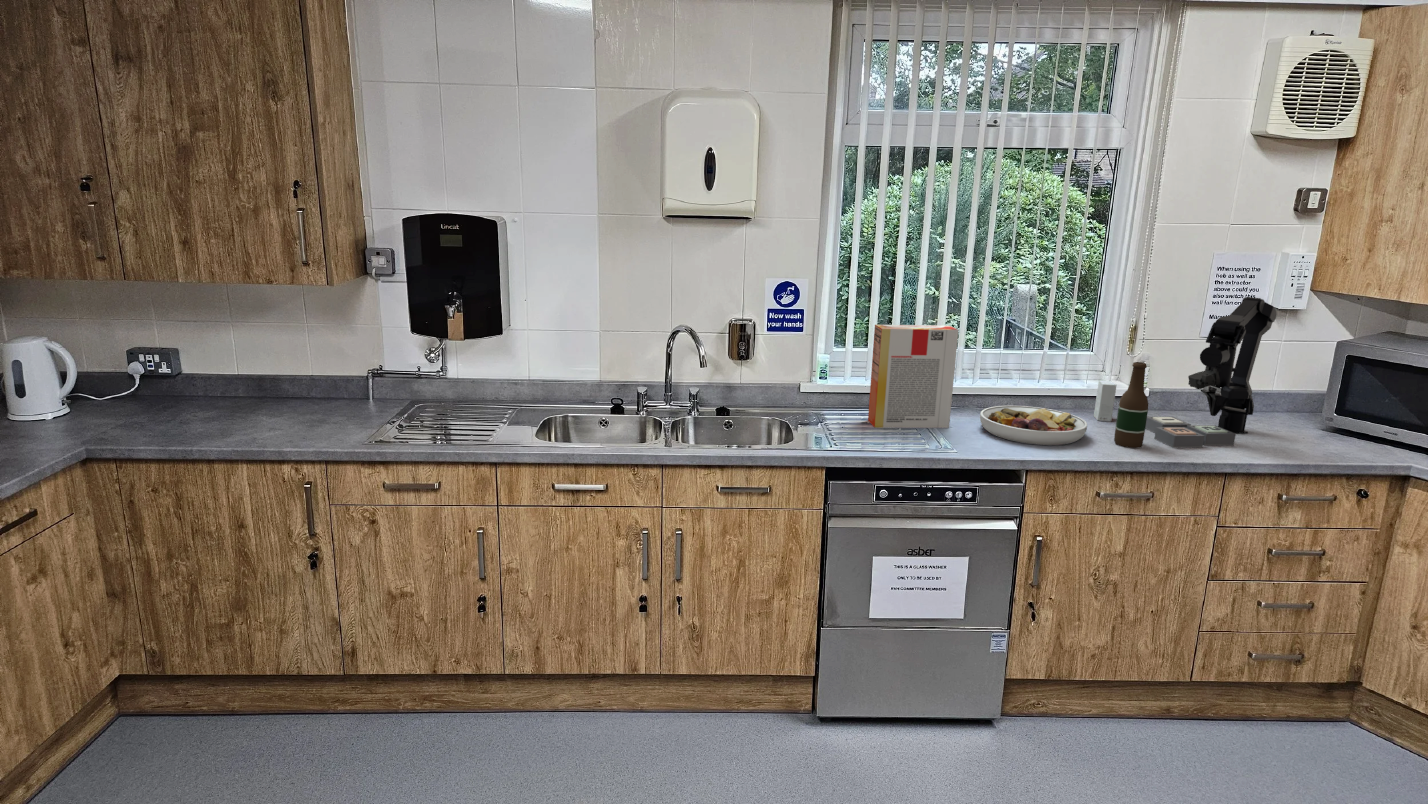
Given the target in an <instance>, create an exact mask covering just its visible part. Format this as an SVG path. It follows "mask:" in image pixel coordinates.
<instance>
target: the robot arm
mask: <svg viewBox="0 0 1428 804" xmlns="http://www.w3.org/2000/svg"><path fill="white" fill-rule="evenodd" d="M1276 318H1277V310H1276V308H1275V306H1274V305H1272V304H1270V303H1268V302H1266V301H1265V300H1264V299H1263V298H1261V297H1251V296H1246V297H1243V298H1242V301H1241V303H1240V304H1239V305H1238V306H1237V307H1236V308H1235V309H1234V310H1233V311H1232V312H1231V313H1230V314H1229V315H1224V316H1221V317H1219V318H1217V319H1216V320H1215V322H1213V323H1212V326H1211V327H1210V331H1209V332H1208V335H1207V337H1206V340H1205V343H1207V344H1209V346H1208V347H1205V348H1203V350H1202V351H1201V352H1200V354H1199V359H1200V362H1201V364H1202V365H1203V366H1205V370H1201V371H1198V372H1195V373H1193V374H1191V375H1190V374H1189V375H1188V377H1187V378H1188V385H1189V387H1190V388H1195V389H1196V390H1200V392H1201V393H1202V394H1203V395H1205V396H1206V399H1207V402H1208V408H1209V414H1210V416H1212V417H1215V416H1217V415H1218V413H1221V414H1220V415H1219V419H1218V424H1217V426H1218V427H1220V428H1223V429H1225V430H1228V431H1230V432H1233V433H1235V434H1248V433H1249V432H1248V431H1247V430H1246V425H1247V419H1248V418H1247V417H1248V416H1250V415H1251V416H1252V415H1253V414H1254V409H1255V405H1254V400H1253V396H1252V395H1253V390H1252V386H1251V384H1250V378H1251V375H1252V371H1253V368H1254V365H1255V361H1256V358H1257V354H1258V351H1259V347H1260V344H1261V342H1262V341H1261V340H1262V338H1263V335H1265V334H1266V333H1268V331H1269V330H1270V329H1271V328H1272V324H1273V323H1275V321H1276ZM1240 344H1241V345H1240ZM1238 345H1240V348H1239V352H1238V356H1237V358H1236V353H1237V347H1238ZM1235 359H1236V362H1235ZM1234 364H1235V365H1234ZM1220 411H1221V412H1220Z"/></svg>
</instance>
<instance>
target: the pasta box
mask: <svg viewBox="0 0 1428 804" xmlns="http://www.w3.org/2000/svg"><path fill="white" fill-rule="evenodd" d="M958 338H959V329H958V328H955V327H953V326H951V325H943V324H942V325H941V324H940V325H939V324H938V325H936V324H935V325H934V324H931V325H930V324H928V325H927V324H926V325H925V324H874V332H873V346H872V359H871V374H870V375H871V376H870V385H869V387H870V389H869V398H868V399H869V402H868V403H869V404H868V413H867V415H868V416H867V421H868V422H869V423H870V424H871V425H872V427H874V428H881V429H882V428H884V429H885V428H887V429H888V428H889V429H890V428H891V429H894V428H899V429H900V428H904V429H906V428H907V429H910V428H911V429H913V428H914V429H915V428H916V429H919V428H920V429H950V422H951V421H950V419H951V410H952V402H953V401H952V399H953V390H954V379H955V369H956V360H957V359H956V358H957V346H958Z"/></svg>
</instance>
